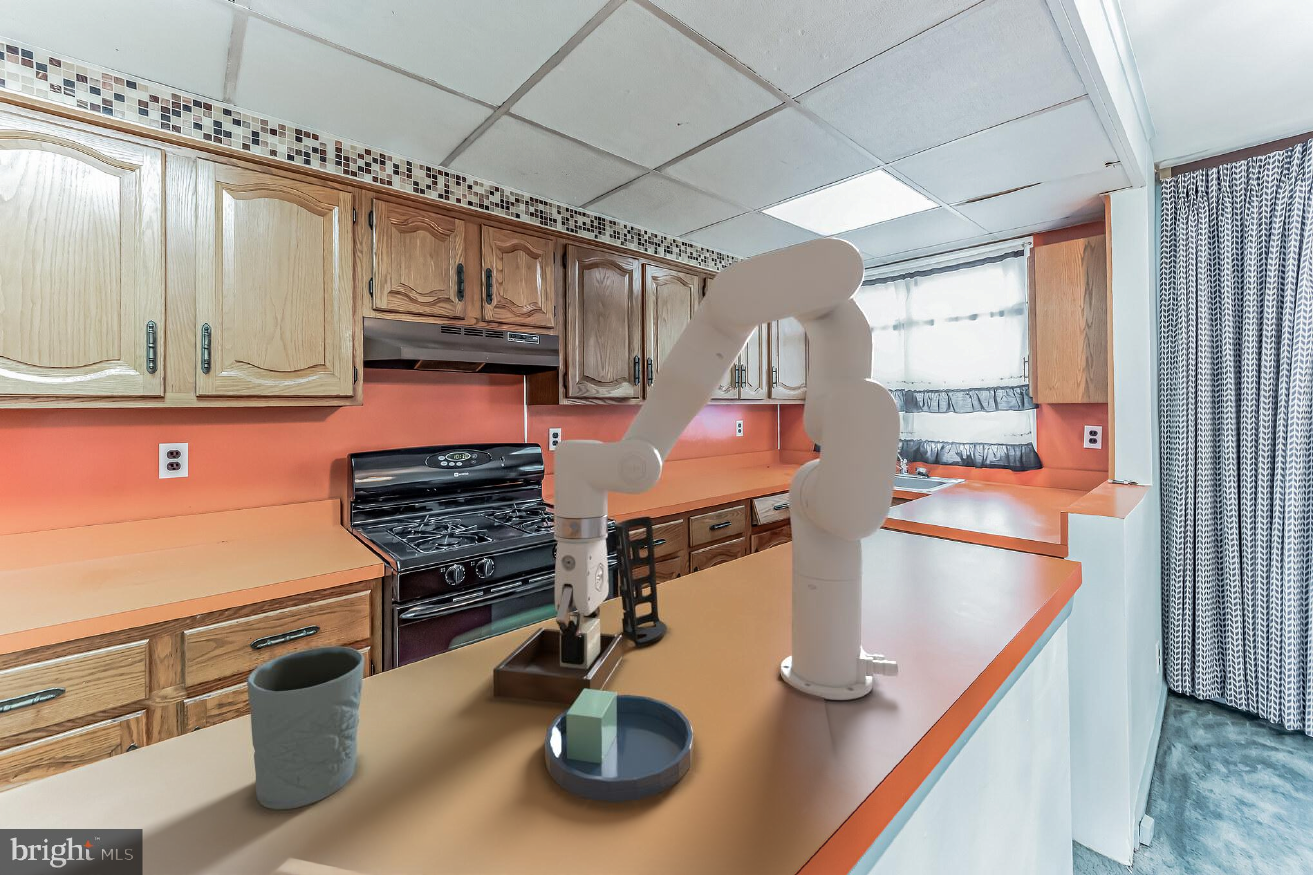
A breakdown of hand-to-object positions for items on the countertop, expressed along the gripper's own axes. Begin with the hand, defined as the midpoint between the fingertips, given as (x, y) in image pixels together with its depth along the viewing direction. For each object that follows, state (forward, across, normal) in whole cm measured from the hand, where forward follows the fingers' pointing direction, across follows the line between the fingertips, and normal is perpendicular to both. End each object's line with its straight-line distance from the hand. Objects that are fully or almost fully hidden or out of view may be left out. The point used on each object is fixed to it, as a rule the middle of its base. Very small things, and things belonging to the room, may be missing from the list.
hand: (580, 651), depth 76 cm
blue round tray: (+4, -15, -10) cm, 19 cm away
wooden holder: (+4, 0, +3) cm, 5 cm away
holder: (+4, +18, -4) cm, 19 cm away
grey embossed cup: (+4, -26, +20) cm, 33 cm away
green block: (+4, -15, -7) cm, 17 cm away
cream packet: (+1, 0, 0) cm, 1 cm away
